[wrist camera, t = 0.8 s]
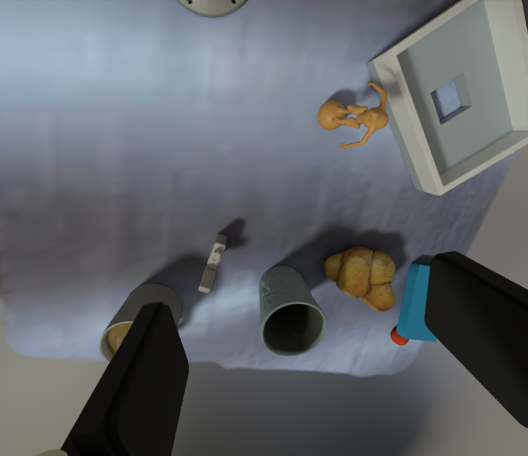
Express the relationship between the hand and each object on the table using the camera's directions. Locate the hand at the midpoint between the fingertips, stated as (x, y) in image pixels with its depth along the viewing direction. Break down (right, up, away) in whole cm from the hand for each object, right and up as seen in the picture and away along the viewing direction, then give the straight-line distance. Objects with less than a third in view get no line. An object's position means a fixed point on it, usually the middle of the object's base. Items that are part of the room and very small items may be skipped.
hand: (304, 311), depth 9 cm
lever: (+29, -12, +44) cm, 54 cm away
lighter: (-10, -1, +36) cm, 37 cm away
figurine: (+9, +20, +30) cm, 37 cm away
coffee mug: (-22, -13, +39) cm, 47 cm away
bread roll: (+16, -4, +39) cm, 43 cm away
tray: (+26, +23, +30) cm, 46 cm away
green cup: (+2, -8, +40) cm, 40 cm away
